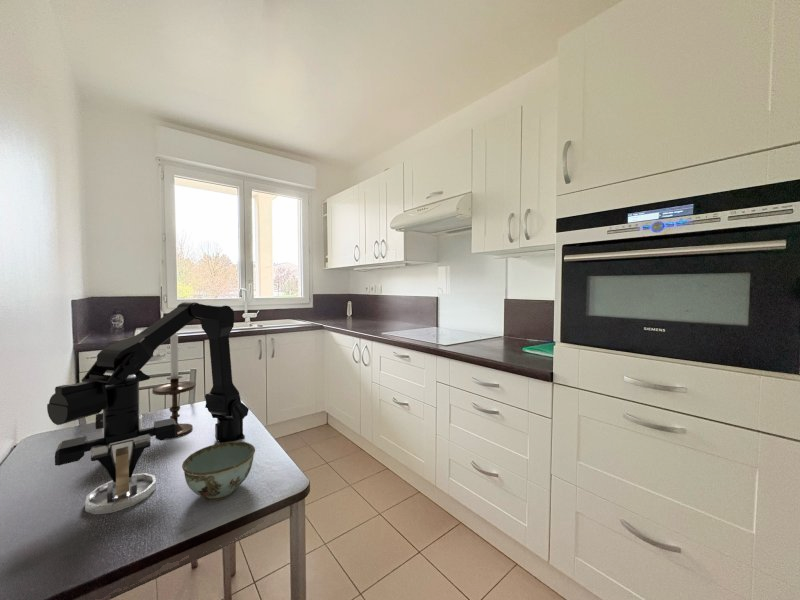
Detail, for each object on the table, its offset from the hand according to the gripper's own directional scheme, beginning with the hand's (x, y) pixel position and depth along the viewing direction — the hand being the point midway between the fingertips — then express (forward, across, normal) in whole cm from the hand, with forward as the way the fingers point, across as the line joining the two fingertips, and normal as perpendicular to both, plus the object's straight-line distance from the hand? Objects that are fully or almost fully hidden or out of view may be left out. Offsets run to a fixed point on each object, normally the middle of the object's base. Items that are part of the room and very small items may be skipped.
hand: (122, 478), depth 66 cm
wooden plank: (+2, 0, 0) cm, 2 cm away
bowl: (+4, -16, +12) cm, 20 cm away
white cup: (+4, 0, -21) cm, 21 cm away
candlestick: (+4, -12, -30) cm, 32 cm away
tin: (+4, 0, 0) cm, 4 cm away
